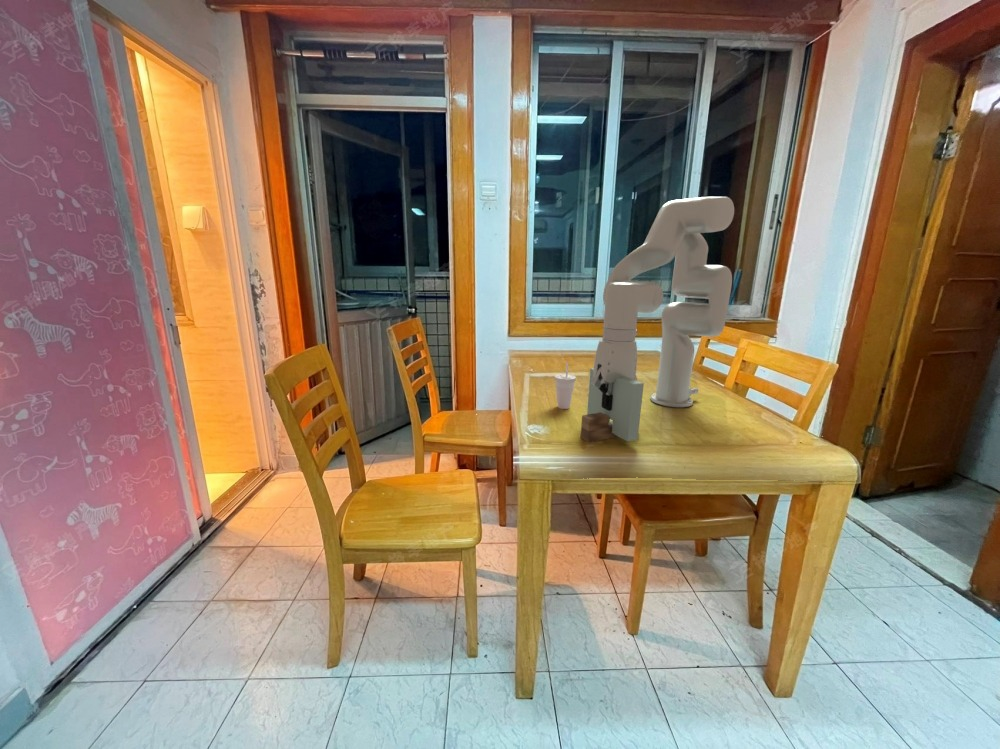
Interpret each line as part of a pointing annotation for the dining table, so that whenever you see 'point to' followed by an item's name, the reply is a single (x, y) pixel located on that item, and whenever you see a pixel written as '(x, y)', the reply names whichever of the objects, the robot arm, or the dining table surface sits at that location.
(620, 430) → the cross plate
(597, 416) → the brown long block
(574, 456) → the dining table surface
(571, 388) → the smoothie
